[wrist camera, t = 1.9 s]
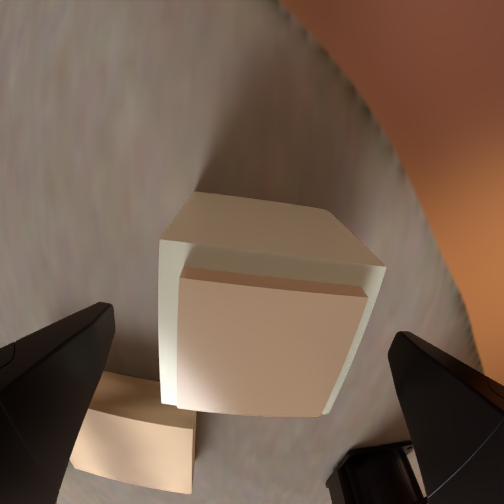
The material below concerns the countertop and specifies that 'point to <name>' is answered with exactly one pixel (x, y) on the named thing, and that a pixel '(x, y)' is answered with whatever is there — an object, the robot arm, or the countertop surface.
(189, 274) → the cream lidded box
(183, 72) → the countertop surface
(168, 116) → the countertop surface
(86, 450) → the beech block
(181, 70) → the countertop surface
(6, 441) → the robot arm
